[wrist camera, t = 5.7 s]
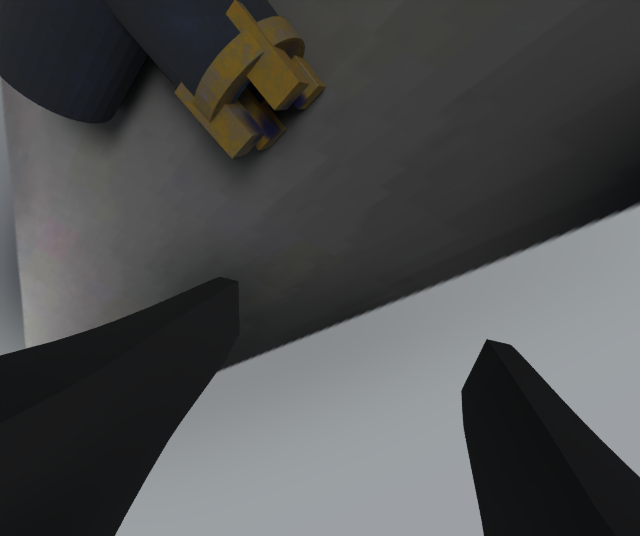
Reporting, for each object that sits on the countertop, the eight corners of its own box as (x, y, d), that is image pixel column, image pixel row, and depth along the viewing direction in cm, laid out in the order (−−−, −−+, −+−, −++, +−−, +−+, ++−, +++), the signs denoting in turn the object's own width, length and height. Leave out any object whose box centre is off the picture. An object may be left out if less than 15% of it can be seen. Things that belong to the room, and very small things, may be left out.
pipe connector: (441, -93, 8) (157, 238, 15) (430, -21, 13) (216, 207, 20) (78, -693, 6) (-55, 25, 13) (226, -340, 10) (68, 46, 17)
